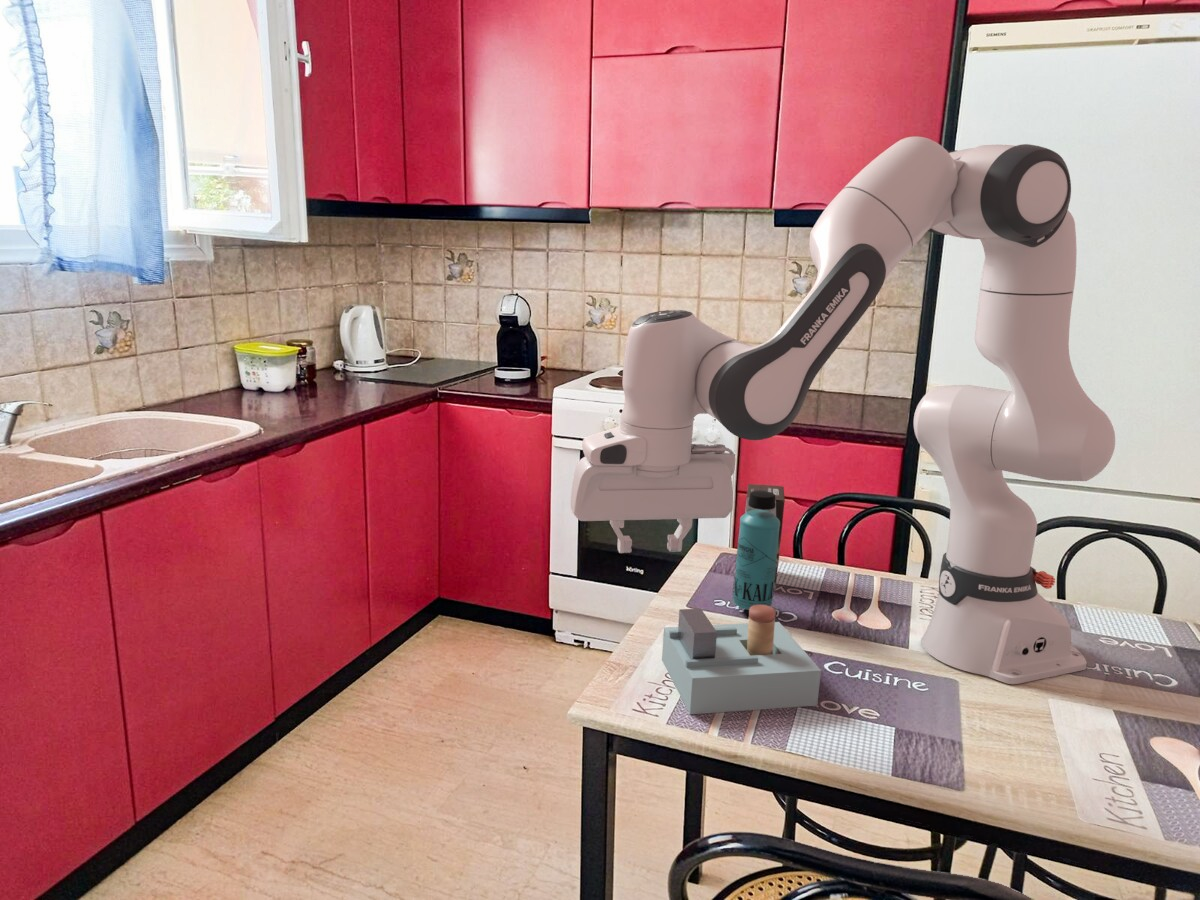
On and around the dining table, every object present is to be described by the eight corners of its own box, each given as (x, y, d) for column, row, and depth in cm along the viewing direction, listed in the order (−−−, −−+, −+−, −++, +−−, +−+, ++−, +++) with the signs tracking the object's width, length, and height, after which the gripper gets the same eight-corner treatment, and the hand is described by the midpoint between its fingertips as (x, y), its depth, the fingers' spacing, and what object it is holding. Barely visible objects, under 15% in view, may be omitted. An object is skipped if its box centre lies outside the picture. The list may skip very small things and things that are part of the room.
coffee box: (776, 590, 144) (785, 500, 140) (738, 586, 145) (746, 496, 141) (776, 570, 153) (784, 485, 149) (740, 567, 154) (747, 482, 150)
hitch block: (775, 653, 122) (779, 616, 121) (817, 705, 109) (821, 664, 107) (661, 660, 119) (664, 622, 118) (689, 714, 106) (692, 672, 104)
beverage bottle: (742, 599, 140) (752, 483, 135) (779, 610, 136) (790, 492, 132) (723, 612, 135) (733, 492, 130) (761, 624, 131) (773, 501, 126)
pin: (765, 670, 116) (770, 603, 113) (774, 683, 113) (779, 615, 110) (742, 672, 116) (745, 605, 113) (750, 685, 112) (754, 616, 110)
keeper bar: (698, 635, 115) (700, 608, 114) (714, 660, 108) (717, 632, 107) (677, 636, 115) (679, 609, 114) (692, 661, 108) (694, 633, 107)
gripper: (728, 438, 108) (720, 539, 112) (570, 438, 105) (566, 544, 108) (745, 450, 102) (736, 557, 106) (578, 451, 98) (574, 562, 102)
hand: (649, 550), depth 107 cm, fingers open, 5 cm apart
